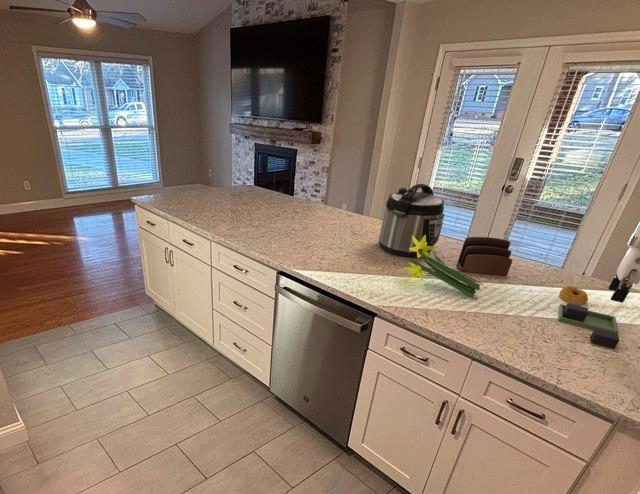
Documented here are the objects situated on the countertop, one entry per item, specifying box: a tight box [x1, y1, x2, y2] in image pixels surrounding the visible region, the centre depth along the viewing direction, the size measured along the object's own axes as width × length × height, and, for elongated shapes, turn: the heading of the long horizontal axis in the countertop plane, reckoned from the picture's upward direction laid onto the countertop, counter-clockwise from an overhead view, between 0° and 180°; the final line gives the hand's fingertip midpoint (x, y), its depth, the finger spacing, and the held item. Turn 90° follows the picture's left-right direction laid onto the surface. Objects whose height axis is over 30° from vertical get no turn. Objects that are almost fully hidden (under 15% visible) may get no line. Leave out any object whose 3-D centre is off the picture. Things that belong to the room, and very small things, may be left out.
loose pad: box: [589, 328, 620, 350], centre depth 138 cm, size 6×5×4 cm
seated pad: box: [563, 302, 589, 322], centre depth 153 cm, size 6×5×4 cm
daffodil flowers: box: [402, 235, 484, 299], centre depth 172 cm, size 17×15×35 cm
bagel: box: [558, 285, 589, 306], centre depth 167 cm, size 10×11×5 cm
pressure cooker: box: [378, 183, 445, 258], centre depth 203 cm, size 30×28×32 cm
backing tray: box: [557, 303, 619, 335], centre depth 152 cm, size 18×14×2 cm
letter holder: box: [456, 236, 514, 276], centre depth 189 cm, size 10×20×14 cm, turn 80°
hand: (615, 295), depth 132 cm, fingers open, 9 cm apart
